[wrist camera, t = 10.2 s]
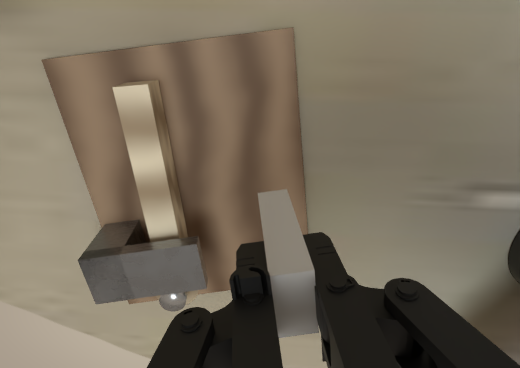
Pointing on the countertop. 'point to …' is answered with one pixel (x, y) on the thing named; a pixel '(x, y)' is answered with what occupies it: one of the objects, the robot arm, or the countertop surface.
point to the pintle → (173, 301)
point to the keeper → (140, 264)
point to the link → (152, 160)
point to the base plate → (194, 134)
